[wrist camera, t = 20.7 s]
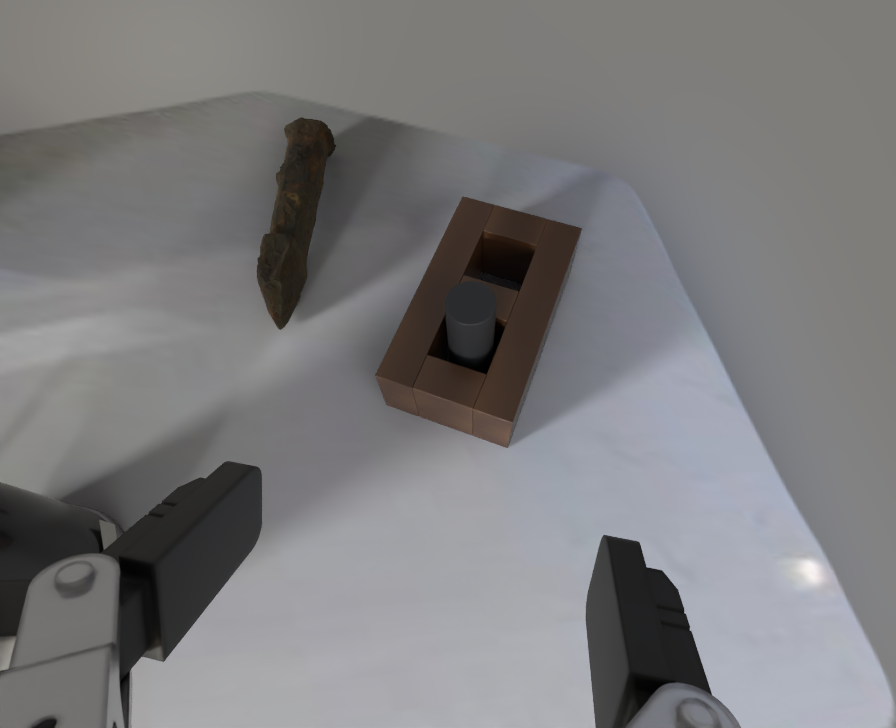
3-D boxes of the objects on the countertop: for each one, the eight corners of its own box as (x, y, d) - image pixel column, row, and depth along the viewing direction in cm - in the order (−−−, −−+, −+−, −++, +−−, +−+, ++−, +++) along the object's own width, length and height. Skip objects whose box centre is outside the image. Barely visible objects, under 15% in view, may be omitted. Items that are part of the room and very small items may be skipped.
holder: (386, 405, 38) (374, 375, 34) (463, 239, 45) (462, 196, 40) (507, 448, 37) (512, 423, 32) (570, 270, 43) (582, 228, 38)
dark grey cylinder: (443, 381, 39) (435, 316, 31) (458, 345, 40) (454, 274, 32) (484, 394, 38) (487, 332, 30) (498, 357, 40) (504, 288, 32)
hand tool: (295, 151, 50) (279, 107, 46) (338, 152, 50) (326, 108, 45) (248, 332, 42) (222, 299, 37) (299, 334, 41) (279, 301, 37)
